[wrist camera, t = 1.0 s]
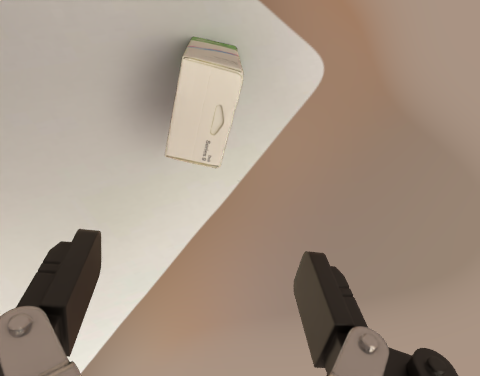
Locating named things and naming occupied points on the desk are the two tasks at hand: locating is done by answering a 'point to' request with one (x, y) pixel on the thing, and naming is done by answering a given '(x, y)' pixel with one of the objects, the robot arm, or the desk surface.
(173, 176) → the desk surface
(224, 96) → the ink box
